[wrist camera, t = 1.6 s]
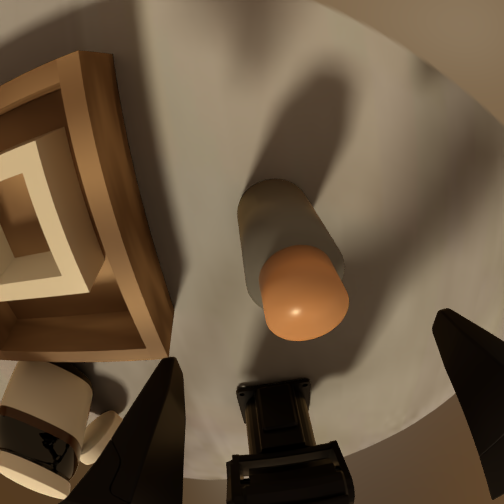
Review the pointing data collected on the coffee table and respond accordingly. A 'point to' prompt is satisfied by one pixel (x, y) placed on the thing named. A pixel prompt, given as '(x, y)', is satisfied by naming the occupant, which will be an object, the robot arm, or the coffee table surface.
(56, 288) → the inlet socket
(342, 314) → the orange-capped grey cylinder
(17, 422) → the spread jar
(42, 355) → the walled box
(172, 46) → the coffee table surface
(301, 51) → the coffee table surface
